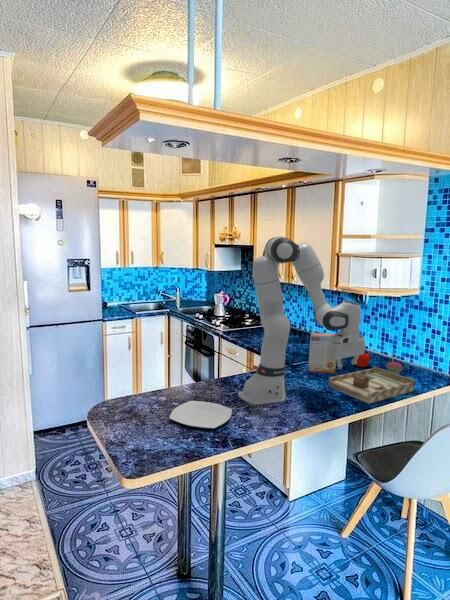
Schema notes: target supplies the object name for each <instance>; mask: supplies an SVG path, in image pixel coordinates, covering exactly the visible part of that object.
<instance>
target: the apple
mask: <svg viewBox="0 0 450 600" xmlns="http://www.w3.org/2000/svg"><path fill="white" fill-rule="evenodd" d="M370 359H371V356H370V354H368V353H366V352H364V354H361V355H359V357H358V359H357V362H356V364H355V365H356V366H357V367H359V368H366V367H367V366H368V364H369V363H370Z"/></svg>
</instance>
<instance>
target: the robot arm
mask: <svg viewBox="0 0 450 600" xmlns="http://www.w3.org/2000/svg"><path fill="white" fill-rule="evenodd" d="M287 263H291V264H292V265H293V267H294V269H295V271H296V275H297V277H298V278H299V280H300V281H301V283H302V284H303V286H304V287H305V290H306V291H307V293H308V295H309V298H310V301H311V303H312V305H313V318H314V320H315V322H316V323H317V325H320V326H322V327H324V328H325V329H326V330H328V331H337V332H336V333H334V334H335V335H333V336H332V337H331V341H333V342H332V343H331V345H330V357H331V358H332V359H335V360H336V366H337V368H343V363H342V362H341V361H342V359H348V358H350V357H353V358H352V360H351V365H356V362H357V359H358V357H359V355H361V354H364V353H366V341H365V336H364V335H363V334H360V324H361V313H362V312H361V306H360V305H359V303H357V302H354V301H350V300H344V301H342V302H341V303H339V304H338V305H335V306H331V305H330V304H329V302H327V299H326V297H325V294H324V292H323V289H322V286H321V285H322V282H323V280H324V278H325V274H324V269H323V266H322V263H321V261H320V259H319V257H318V255H317V253H316V252H315V250H314V248H313V247H312V246H311V244H309V243H308V242H300V243H295V242H294V241H293V240H291V239H290V238H288V237H285V236H273V237H271V238H270V239H268V241H267V242H266V244H265V246H264V249H263V252H262V256H259V257H257V258H255V259H254V260H253V262H252V275H253V283H254V287H255V293H256V298H257V303H258V311H259V317H260V323H261V326H262V328H263V338H262V343H261V349H260V361H259V362H260V363H259V364H258V365H256V364H254V365H253V366H252V370H254V371H256V372H255V373H254V374H253V375H252V376H251V377H250V378H248V379H247V380H246V381H245V382H244V385H243V390H241V391H239V392H237V396H238V398H240V399H241V400H242V401H244V402H246V403H248V404H251V405H255V406H257V405H260V406H261V405H266V404H275V403H283V402H286V397H287V394H286V393H287V392H286V388H285V387H286V386H285V385H286V384H285V375H286V365H285V364H286V353H287V352H286V351H287V344H288V341H289V336H290V333H291V323H290V320H289V318H288V317H287V316H286V315H285V312H284V311H285V310H284V302H283V297H284V296H283V292H282V287H281V280H280V275H279V272H278V271H279V265H280V264H287Z"/></svg>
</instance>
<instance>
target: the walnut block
mask: <svg viewBox="0 0 450 600" xmlns="http://www.w3.org/2000/svg"><path fill="white" fill-rule="evenodd" d="M353 386H355V387H358V388H360V389H364V388H368V386H369V377H367V376H364V375H362V374H359V375H355V376H354V381H353Z"/></svg>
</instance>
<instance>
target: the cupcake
mask: <svg viewBox="0 0 450 600" xmlns="http://www.w3.org/2000/svg"><path fill="white" fill-rule="evenodd" d="M403 366H404V365H402V364H401V363H400V362H398V361H397V362H396V361H394V354H393V353H391V361H389V362H387V363H386V365H385V368H386V369H387V371H389V372H392V373H395V374H398V375H400V372H401V371H403V370H404V367H403Z"/></svg>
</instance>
